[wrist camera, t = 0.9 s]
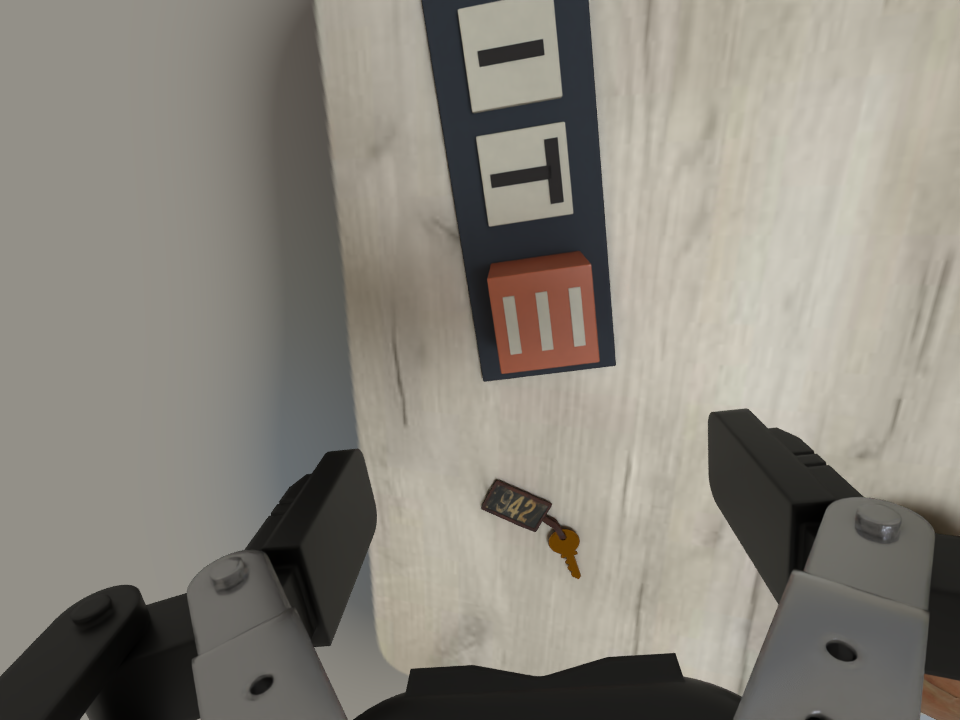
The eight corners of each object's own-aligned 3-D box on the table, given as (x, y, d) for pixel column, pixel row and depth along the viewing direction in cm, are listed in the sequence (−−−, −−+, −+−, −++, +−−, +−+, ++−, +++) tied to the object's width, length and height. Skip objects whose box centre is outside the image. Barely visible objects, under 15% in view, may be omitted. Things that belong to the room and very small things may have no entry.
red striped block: (490, 263, 26) (486, 278, 22) (580, 250, 26) (591, 263, 22) (503, 347, 28) (501, 375, 24) (588, 336, 27) (600, 363, 23)
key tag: (474, 502, 31) (473, 508, 31) (506, 468, 30) (506, 474, 30) (577, 578, 33) (578, 585, 32) (611, 548, 32) (613, 555, 31)
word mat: (422, -4, 23) (417, -13, 22) (584, -37, 22) (587, -48, 21) (484, 378, 29) (482, 387, 28) (614, 362, 28) (618, 370, 27)
